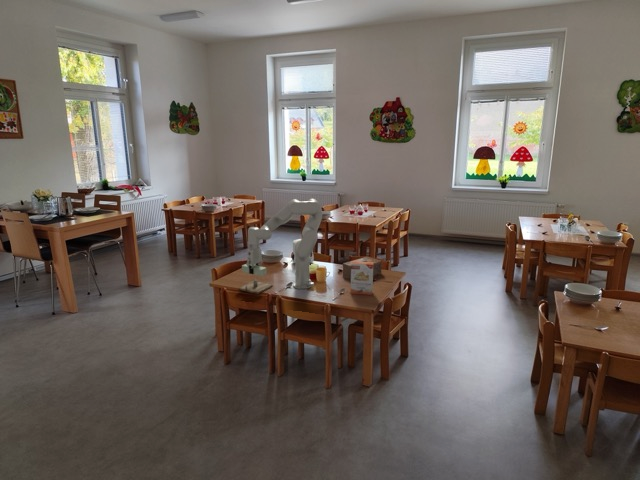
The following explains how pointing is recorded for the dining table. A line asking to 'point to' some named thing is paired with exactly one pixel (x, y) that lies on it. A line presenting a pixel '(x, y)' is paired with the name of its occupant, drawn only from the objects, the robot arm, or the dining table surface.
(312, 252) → the milk container
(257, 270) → the flange bar
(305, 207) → the robot arm
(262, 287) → the board
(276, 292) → the dining table surface
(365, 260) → the tissue box cover
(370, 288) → the cracker box
